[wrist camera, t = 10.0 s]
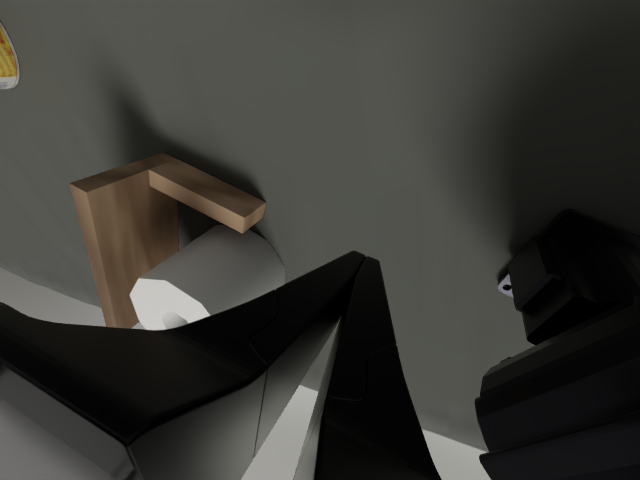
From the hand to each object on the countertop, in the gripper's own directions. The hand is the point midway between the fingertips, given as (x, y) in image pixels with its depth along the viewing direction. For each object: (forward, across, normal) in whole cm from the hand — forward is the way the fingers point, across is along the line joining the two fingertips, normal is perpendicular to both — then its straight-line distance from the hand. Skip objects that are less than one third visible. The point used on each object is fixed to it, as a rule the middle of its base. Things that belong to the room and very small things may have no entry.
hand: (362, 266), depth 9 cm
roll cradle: (+12, +16, +15) cm, 25 cm away
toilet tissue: (+12, +12, +16) cm, 24 cm away
